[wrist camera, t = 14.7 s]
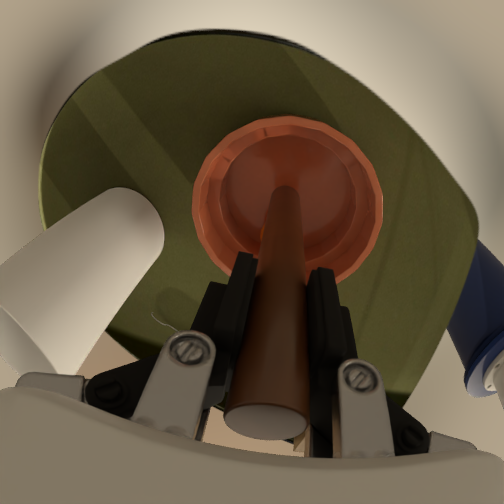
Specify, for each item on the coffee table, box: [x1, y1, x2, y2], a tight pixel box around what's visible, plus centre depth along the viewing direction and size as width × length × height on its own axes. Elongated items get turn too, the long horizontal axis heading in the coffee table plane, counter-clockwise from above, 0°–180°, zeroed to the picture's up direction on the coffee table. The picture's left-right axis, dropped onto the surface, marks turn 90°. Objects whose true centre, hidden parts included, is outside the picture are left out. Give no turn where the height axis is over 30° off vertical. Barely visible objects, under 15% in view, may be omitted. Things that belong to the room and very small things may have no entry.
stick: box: [223, 186, 310, 440], centre depth 13 cm, size 2×2×16 cm
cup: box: [0, 187, 164, 376], centre depth 19 cm, size 8×8×16 cm
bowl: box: [192, 114, 383, 286], centre depth 20 cm, size 12×12×5 cm
